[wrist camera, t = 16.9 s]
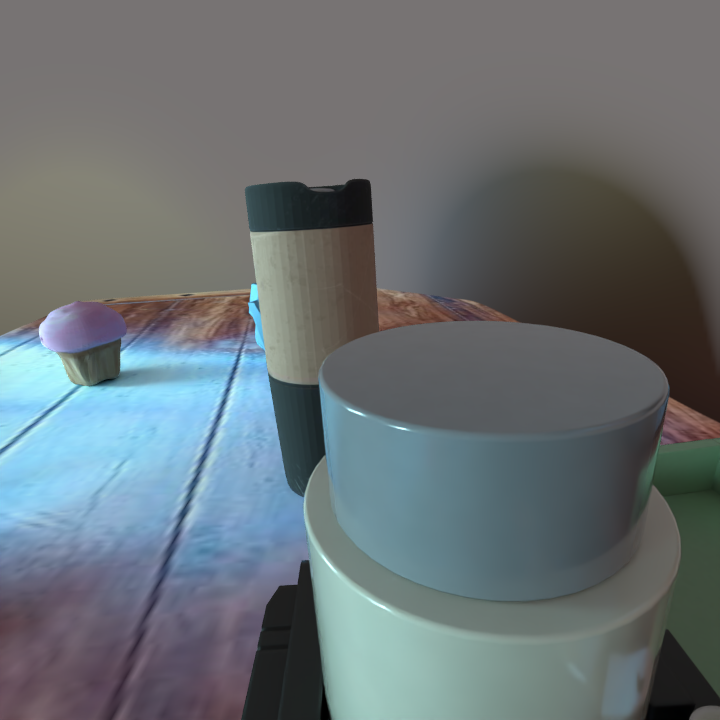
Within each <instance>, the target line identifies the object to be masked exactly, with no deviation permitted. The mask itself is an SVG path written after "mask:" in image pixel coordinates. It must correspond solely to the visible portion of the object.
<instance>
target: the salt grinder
mask: <svg viewBox="0 0 720 720" xmlns="http://www.w3.org/2000/svg"><path fill="white" fill-rule="evenodd" d="M318 383H319V393H320V404H321V414H322V425H323V435H324V446H325V456H324V457H323V458H322V459H321V461H320V462H319V463H318V464H317V466H316V467H315V469H314V471H313V473H312V475H311V476H310V478H309V481H308V484H307V487H306V491H305V494H304V504H303V512H304V521H305V530H306V538H307V546H308V555H309V563H310V571H311V580H312V588H313V596H314V605H315V613H316V621H317V630H318V638H319V646H320V655H321V663H322V671H323V680H324V688H325V696H326V705H327V713H328V720H646V716H647V711H648V707H649V702H650V698H651V693H652V689H653V684H654V680H655V675H656V671H657V666H658V662H659V657H660V653H661V648H662V644H663V639H664V635H665V630H666V626H667V621H668V617H669V612H670V608H671V603H672V599H673V594H674V590H675V585H676V581H677V576H678V572H679V567H680V563H681V558H682V553H681V537H680V533H679V530H678V526H677V522H676V519H675V517H674V515H673V513H672V511H671V509H670V507H669V505H668V503H667V502H666V500H665V499H664V498H663V496H662V495H661V493H660V492H659V491H658V489H657V488H656V487H655V486H654V485H653V480H654V474H655V469H656V463H657V458H658V453H659V447H660V442H661V436H662V431H663V425H664V420H665V414H666V409H667V403H668V398H669V384H668V381H667V378H666V376H665V374H664V372H663V371H662V370H661V369H660V368H659V366H658V365H657V364H655V363H654V362H653V361H651V360H650V359H649V358H648V357H646V356H644V355H642V354H641V353H639V352H637V351H635V350H633V349H631V348H628V347H626V346H624V345H621V344H619V343H615V342H613V341H610V340H607V339H604V338H601V337H597V336H594V335H590V334H586V333H582V332H578V331H573V330H568V329H563V328H557V327H551V326H544V325H535V324H527V323H516V322H499V321H452V322H437V323H426V324H417V325H410V326H404V327H398V328H393V329H388V330H384V331H380V332H376V333H373V334H369V335H366V336H363V337H361V338H358V339H355V340H353V341H351V342H348V343H346V344H344V345H342V346H341V347H339V348H337V349H336V350H334V351H333V352H332V353H330V354H329V355H328V356H327V357H326V359H325V360H324V361H323V363H322V365H321V367H320V369H319V375H318Z"/></svg>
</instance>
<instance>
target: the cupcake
mask: <svg viewBox="0 0 720 720" xmlns="http://www.w3.org/2000/svg"><path fill="white" fill-rule="evenodd" d="M126 332H127V328H126V324H125V322H124V319H123V318H122V316H121V315H120V314H119V313H117V312H116V311H114V310H113V309H111V308H108V307H106V306H105V305H103V304H102V303H99V302H80V301H76V302H74V303H72V304H70V305H66V306H63V307H60V308H58V309H56V310H54V311H52V312H51V313H49V315H48V316H47V318H46V320H45V321H43V322H42V323H41V325H40V328H39V335H40V339H41V342H42V344H43V346H45V347H46V348H48V349H49V350H51V351H54V352H56V353H57V354H58V355H59V356H60V358H61V360H62V362H63V365H64V368H65V370H66V373H67V375H68V377H69V379H70V380H71V382H73V383H74V384H79V385H84V386H92V385H95V384H97V383H99V382H100V381H103V380H105V379H113V378H116V377H118V375H119V373H120V347H121V337H123V336H125V335H126Z"/></svg>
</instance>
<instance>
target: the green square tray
mask: <svg viewBox="0 0 720 720" xmlns="http://www.w3.org/2000/svg"><path fill="white" fill-rule="evenodd" d="M653 485H654V486H655V487H656V488H657V489H658V491H659V492H660V493H661V495H662V496H663V498H664V499H665V500H666V502H667V503H668V505H669V507H670V509H671V511H672V513H673V515H674V517H675V519H676V522H677V526H678V530H679V533H680V537H681V553H682V558H681V563H680V567H679V572H678V576H677V581H676V585H675V590H674V594H673V599H672V603H671V608H670V612H669V617H668V621H667V626H666V629H668V630H669V631H670V632H671V634H672V635H673V636H674V638H675V639H676V640H677V642H678V643H679V644H680V646H681V647H682V648H683V650H684V651H685V652H686V654H687V655H688V656H689V658H690V659H691V660H692V662H693V663H694V664H695V665H696V667H697V668H698V669H699V671H700V672H701V673H702V675H703V676H704V677H705V679H706V680H707V681H708V683H709V684H710V685H711V687H712V688H713V689H714V691H715V692H716V693H717V695H718V696H719V697H720V438H715V439H705V440H698V441H690V442H683V443H675V444H668V445H660V447H659V453H658V458H657V463H656V469H655V474H654V480H653Z"/></svg>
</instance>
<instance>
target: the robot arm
mask: <svg viewBox="0 0 720 720" xmlns="http://www.w3.org/2000/svg"><path fill="white" fill-rule="evenodd" d="M241 720H328V713H327V705H326V696H325V688H324V680H323V671H322V663H321V655H320V646H319V638H318V630H317V621H316V613H315V605H314V596H313V588H312V580H311V571H310V563H309V560H304V561H302V562H301V566H300V572H299V579H298V585H286V586H279V587H278V589H277V590H276V592H275V593H274V595H273V596H272V598H271V599H270V601H269V602H268V604H267V605H266V610H265V615H264V619H263V624H262V631H261V633H260V637H259V642H258V649H257V651H256V655H255V660H254V664H253V669H252V673H251V678H250V682H249V687H248V691H247V696H246V700H245V705H244V709H243V714H242V719H241ZM646 720H720V697H719V696H718V695H717V693H716V692H715V691H714V689H713V688H712V687H711V685H710V684H709V683H708V681H707V680H706V679H705V677H704V676H703V675H702V673H701V672H700V671H699V669H698V668H697V667H696V665H695V664H694V663H693V662H692V660H691V659H690V658H689V656H688V655H687V654H686V652H685V651H684V650H683V648H682V647H681V646H680V644H679V643H678V642H677V640H676V639H675V638H674V636H673V635H672V634H671V632H670V631H669V630H668V629H666V630H665V635H664V639H663V644H662V648H661V653H660V657H659V662H658V666H657V671H656V675H655V680H654V684H653V689H652V693H651V698H650V702H649V707H648V711H647V716H646Z"/></svg>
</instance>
